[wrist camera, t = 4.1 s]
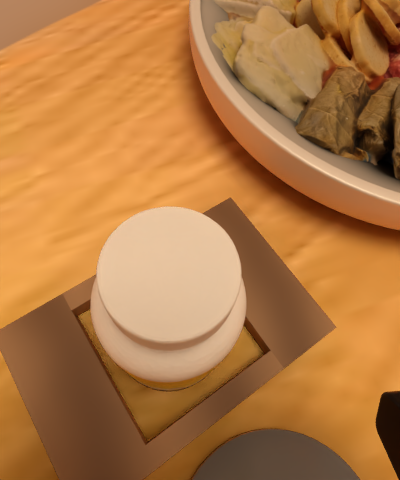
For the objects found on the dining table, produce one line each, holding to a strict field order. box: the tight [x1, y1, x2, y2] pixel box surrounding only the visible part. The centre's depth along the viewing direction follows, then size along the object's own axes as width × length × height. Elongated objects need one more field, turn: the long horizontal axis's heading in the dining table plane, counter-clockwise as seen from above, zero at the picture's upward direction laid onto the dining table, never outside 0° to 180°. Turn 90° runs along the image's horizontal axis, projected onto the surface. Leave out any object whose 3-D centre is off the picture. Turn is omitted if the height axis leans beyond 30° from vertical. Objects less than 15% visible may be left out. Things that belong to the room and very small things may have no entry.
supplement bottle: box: [90, 207, 246, 391], centre depth 14 cm, size 5×5×10 cm
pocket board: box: [0, 198, 336, 480], centre depth 18 cm, size 14×9×1 cm, turn 124°
